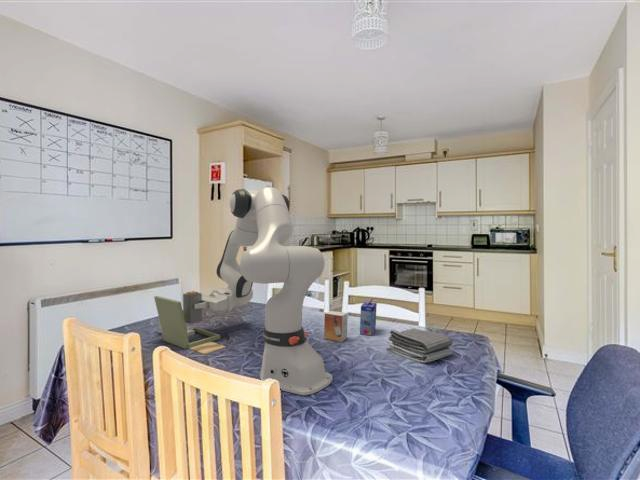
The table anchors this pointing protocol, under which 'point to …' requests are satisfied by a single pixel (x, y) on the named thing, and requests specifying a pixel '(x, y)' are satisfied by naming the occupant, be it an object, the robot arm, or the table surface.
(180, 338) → the case
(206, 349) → the pad
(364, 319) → the juice box
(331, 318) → the small box
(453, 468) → the table surface
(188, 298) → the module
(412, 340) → the towel
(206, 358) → the table surface
